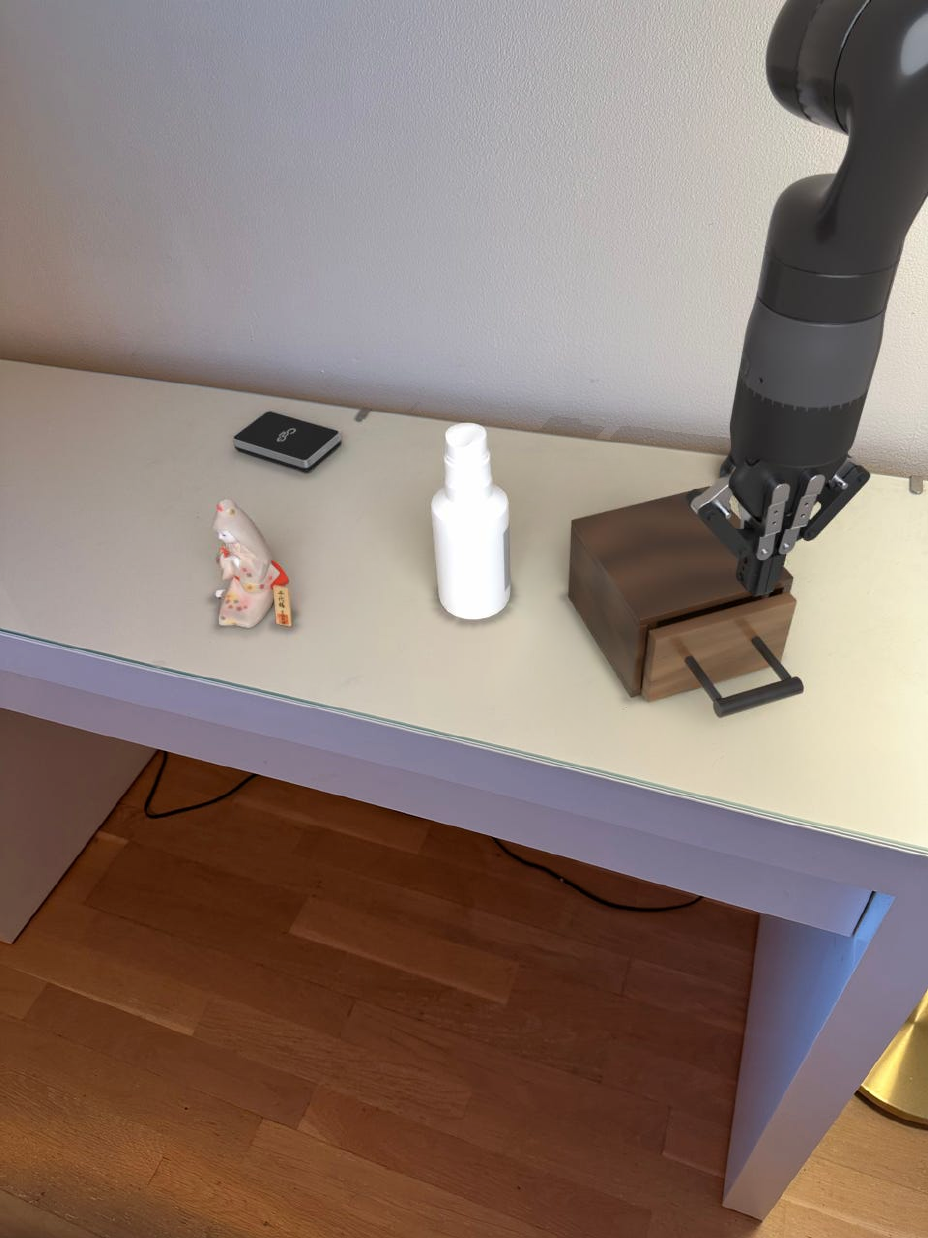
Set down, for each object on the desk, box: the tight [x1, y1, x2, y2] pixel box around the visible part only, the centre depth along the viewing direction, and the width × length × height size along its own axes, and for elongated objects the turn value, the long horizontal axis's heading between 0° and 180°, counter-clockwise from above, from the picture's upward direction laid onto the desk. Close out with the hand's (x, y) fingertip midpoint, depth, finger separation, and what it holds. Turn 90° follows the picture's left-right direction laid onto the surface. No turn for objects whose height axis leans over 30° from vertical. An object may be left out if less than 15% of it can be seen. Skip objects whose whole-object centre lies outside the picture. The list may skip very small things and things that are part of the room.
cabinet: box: [567, 485, 795, 698], centre depth 81 cm, size 14×14×9 cm
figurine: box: [212, 497, 293, 629], centre depth 85 cm, size 9×7×12 cm
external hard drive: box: [232, 410, 342, 473], centre depth 107 cm, size 7×11×2 cm, turn 60°
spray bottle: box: [430, 422, 512, 620], centre depth 82 cm, size 7×7×18 cm
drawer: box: [641, 591, 805, 719], centre depth 77 cm, size 19×12×7 cm, turn 18°
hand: (756, 587), depth 67 cm, fingers closed
